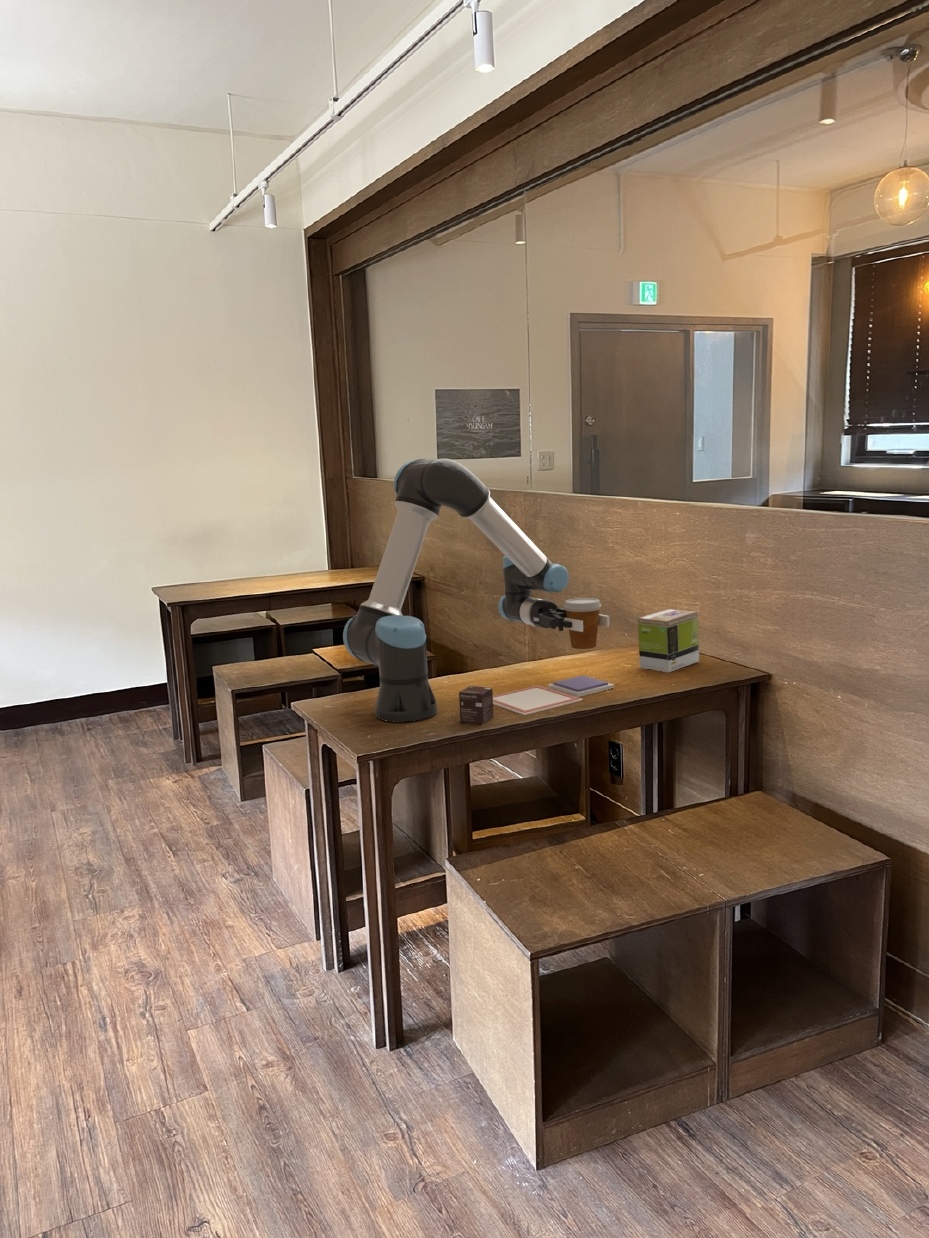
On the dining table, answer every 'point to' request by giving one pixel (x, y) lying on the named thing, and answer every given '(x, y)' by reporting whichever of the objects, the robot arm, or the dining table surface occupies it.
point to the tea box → (668, 640)
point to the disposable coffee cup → (584, 621)
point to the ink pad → (580, 686)
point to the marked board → (533, 700)
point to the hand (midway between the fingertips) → (595, 623)
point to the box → (476, 704)
